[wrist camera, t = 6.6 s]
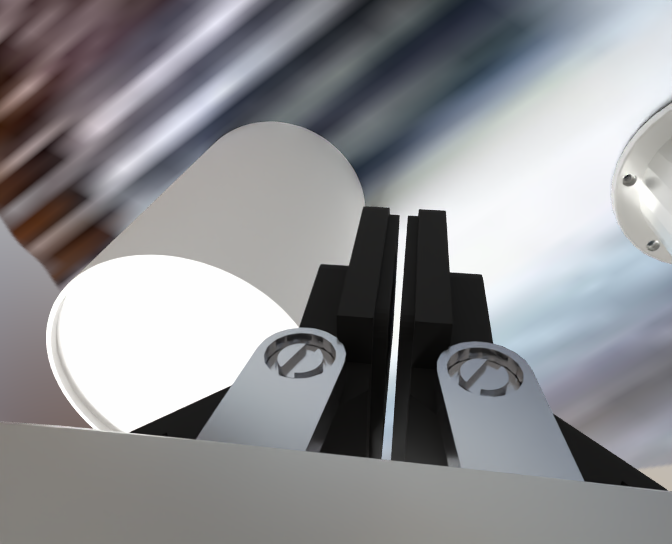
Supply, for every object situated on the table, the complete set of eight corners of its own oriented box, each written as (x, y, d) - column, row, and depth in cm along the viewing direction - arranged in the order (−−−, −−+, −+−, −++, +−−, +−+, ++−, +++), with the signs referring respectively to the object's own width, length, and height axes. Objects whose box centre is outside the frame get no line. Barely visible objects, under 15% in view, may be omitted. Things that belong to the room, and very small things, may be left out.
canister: (306, 310, 49) (240, 512, 31) (167, 224, 46) (13, 392, 29) (401, 191, 42) (382, 365, 25) (244, 83, 40) (104, 194, 22)
